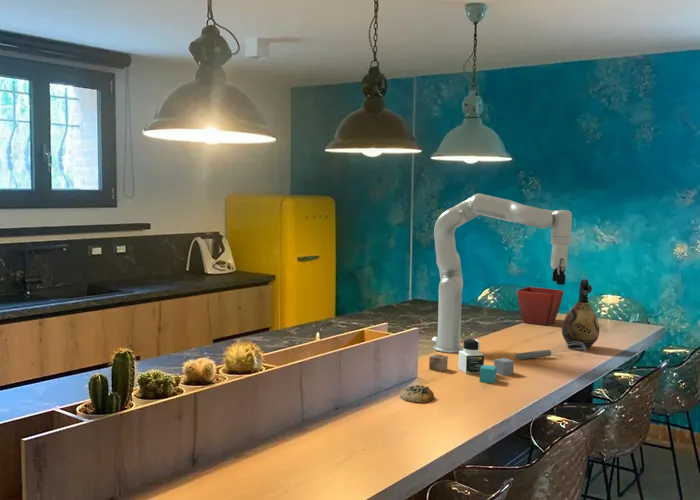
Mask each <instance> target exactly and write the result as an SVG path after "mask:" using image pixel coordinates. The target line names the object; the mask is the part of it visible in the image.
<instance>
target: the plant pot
mask: <svg viewBox="0 0 700 500" xmlns="http://www.w3.org/2000/svg"><path fill="white" fill-rule="evenodd" d="M564 291H565V290H562V289H553V288H552V289H551V288H544V287H532V286H527V287H523V288H521V289H518V290H516V293H517V295H516V296H517V302H518V308H519V313H520V316H521V319H522V322H523V323H525V324H534V325H540V326H549V325H551V324H553V323H555V321H556V319H557V315H558V313H559V310H560V308H561V305H562V304H561V303H562V300H563V296H564Z"/></svg>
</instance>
